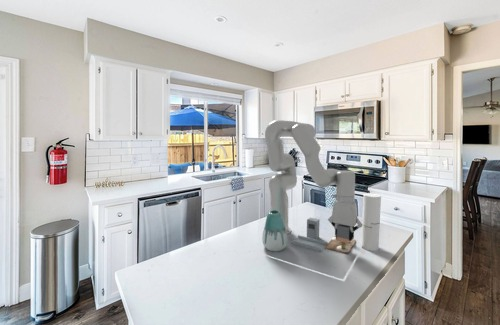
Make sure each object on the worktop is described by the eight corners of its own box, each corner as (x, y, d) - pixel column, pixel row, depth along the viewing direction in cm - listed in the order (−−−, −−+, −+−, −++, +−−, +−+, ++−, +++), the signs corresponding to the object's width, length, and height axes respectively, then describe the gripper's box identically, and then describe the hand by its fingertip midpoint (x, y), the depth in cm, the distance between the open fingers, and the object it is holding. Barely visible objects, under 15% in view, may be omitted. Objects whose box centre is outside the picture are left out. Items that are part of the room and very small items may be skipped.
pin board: (323, 249, 113) (324, 237, 112) (334, 237, 126) (334, 226, 125) (348, 255, 107) (348, 243, 106) (356, 242, 120) (357, 231, 119)
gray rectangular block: (306, 238, 125) (306, 219, 123) (309, 235, 128) (310, 217, 127) (316, 241, 122) (316, 221, 120) (319, 238, 125) (319, 219, 124)
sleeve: (336, 240, 109) (337, 225, 109) (340, 236, 113) (340, 222, 113) (348, 243, 107) (348, 227, 106) (351, 239, 111) (351, 224, 110)
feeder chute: (291, 244, 118) (291, 240, 118) (298, 238, 125) (298, 235, 124) (321, 252, 110) (321, 248, 109) (327, 246, 116) (327, 242, 116)
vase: (277, 257, 106) (277, 217, 104) (257, 249, 114) (256, 211, 112) (292, 247, 115) (292, 210, 113) (272, 240, 123) (272, 206, 120)
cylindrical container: (380, 251, 110) (383, 197, 107) (363, 250, 112) (365, 196, 109) (375, 244, 117) (378, 193, 114) (359, 243, 119) (361, 192, 116)
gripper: (323, 198, 110) (322, 236, 112) (364, 203, 100) (362, 246, 102) (328, 194, 116) (328, 231, 118) (367, 199, 106) (366, 239, 108)
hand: (344, 237), depth 110 cm, fingers closed on sleeve, 5 cm apart
